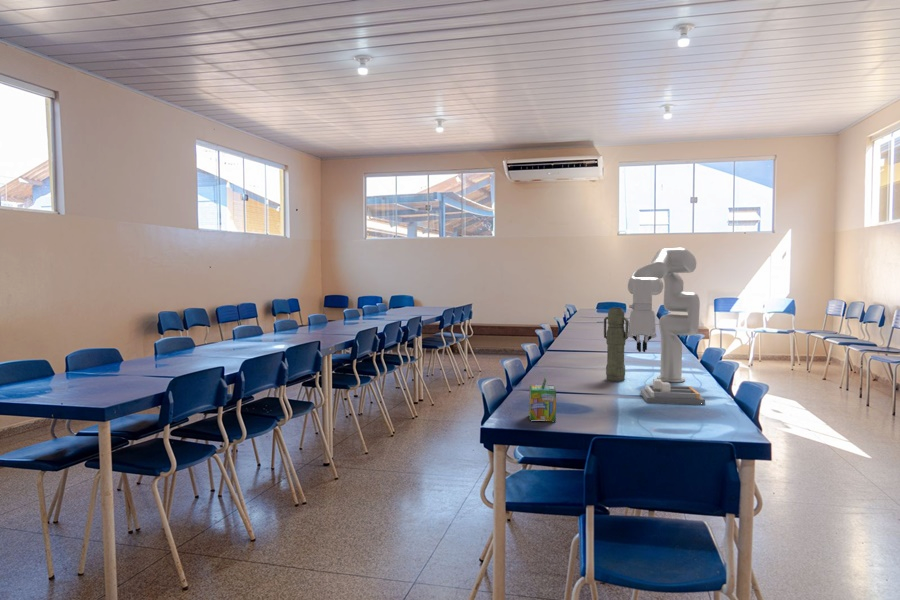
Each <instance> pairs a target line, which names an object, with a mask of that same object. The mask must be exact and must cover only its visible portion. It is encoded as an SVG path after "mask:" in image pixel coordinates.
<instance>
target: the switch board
mask: <svg viewBox="0 0 900 600" xmlns="http://www.w3.org/2000/svg"><path fill="white" fill-rule="evenodd" d="M644 387H645V389H644V388H642V389H640V396H641V397H642V398H643V399H644V401H645V402H646V404H653V403H654V404H679V405H681V404H682V405H702V404H705V405H706V399H705V397H703V396H702V395H701V394H700V393H699V392H698V391H697V390H696V389H695V388H693V386H687V385H685V386H683V385H679V386H678V385H671V387H670V392H660V389H653V384H651V385H649V384H648V385H647V384H646V385H644ZM701 403H702V404H701Z"/></svg>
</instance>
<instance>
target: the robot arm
mask: <svg viewBox="0 0 900 600" xmlns="http://www.w3.org/2000/svg"><path fill="white" fill-rule="evenodd" d="M696 268H697V259H696V257H695V255H694V254H693V253H692V252H691V251H689V250H688V249H686V248H684V247H673V248H671V247H670V248H667V247H666V248H661V249H659V250H658V251H657V252H656V253H655V255H654V257H653V258H652V259H651V261H650V263H648V264H646V265H644V266H642V267H639V268H637V269H636V270H635V271H633V273H632V274H631V276H630V277H629V279H628V282H627V290H628V292H629V293H630V294H632V304H629V305H628V307H629V309H632V310H631V311H630V315H629V328H628V335H627V336H628V338H631V339H633V340H634V341H636V350H637V351H638V352H639V353H641V352H643V353H646V351H647V350H648V343H649V341H650V340H651V339H655V338H657V333H656V316H655V311H653V307H652V306H653V296H657V295H660V294H661V293H662V292H663V308H664V309H665V310H666V311H667V312H676V313H677V312H678V313H687V314H671V313H670V314H665V315H664V314H663V315H662V316H661V317H660V318H659V320H658V327H659V332H660V333H659V335H660V372H659V373H660V374H659V375H657V377H656V379H661V380H662V382H669V383H682V382H683V383H684V382H685V381H686V378H685V377H683V375H682V372H683V367H682V366H683V365H682V364H683V342H682V341H681V339H680V338H679V337H678V336H695V335H697V334H698V332H699V328H700V327H699V326H700V307H701V305H700V303H701V302H700V297H699V295H698V293H696V292H691V291H684V284H685V283H684V280H683V279H682V276H680V275H679V274H690V273H693V272H695V270H696ZM662 279H663V281H662ZM640 336H643V340H642V343H641V340H640V339H641V338H640Z"/></svg>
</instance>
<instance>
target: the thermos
mask: <svg viewBox="0 0 900 600" xmlns="http://www.w3.org/2000/svg"><path fill="white" fill-rule="evenodd" d="M629 322H630V320H629V319H628V318H627V317H625V312H624V309H623V308H622V307H617V306H616V307H614V306H613V307H610V308H609V309H608V313H607V316H605V317H604V318H603V337H604V339H606V342H605V343H606V345H607V353H606V354H607V361H606V362H607V363H606V365H605V375H606V376H605V377H606V378H605V380H606V379H607V380H606V381H609V382H624V380H625V381H626V365H625V345H626V340H628V339H629V337H628V336H627V335H628V332H629ZM607 325H608V326H607Z"/></svg>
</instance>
